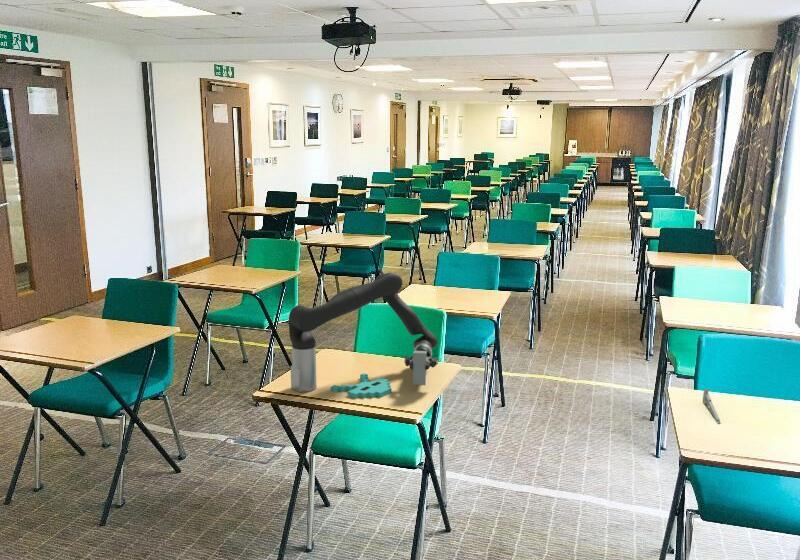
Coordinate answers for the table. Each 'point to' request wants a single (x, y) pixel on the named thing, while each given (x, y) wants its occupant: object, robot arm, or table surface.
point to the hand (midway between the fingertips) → (419, 367)
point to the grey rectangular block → (419, 367)
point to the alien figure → (366, 388)
